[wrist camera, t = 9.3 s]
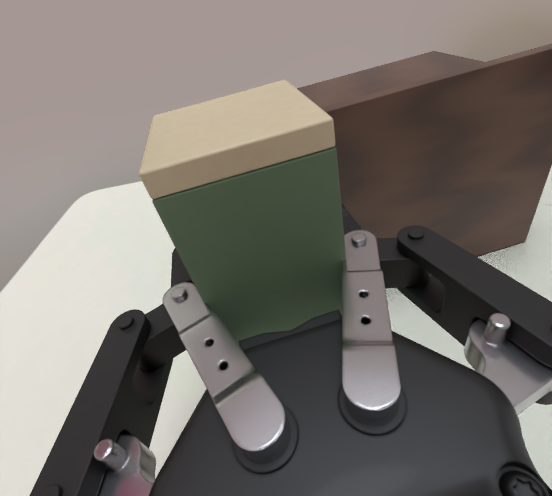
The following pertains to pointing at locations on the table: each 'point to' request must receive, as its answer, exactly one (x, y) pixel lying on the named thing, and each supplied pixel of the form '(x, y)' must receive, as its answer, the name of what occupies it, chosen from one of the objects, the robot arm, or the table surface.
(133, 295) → the table surface
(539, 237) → the table surface
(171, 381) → the table surface
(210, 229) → the carton
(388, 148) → the shelf
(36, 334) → the table surface
